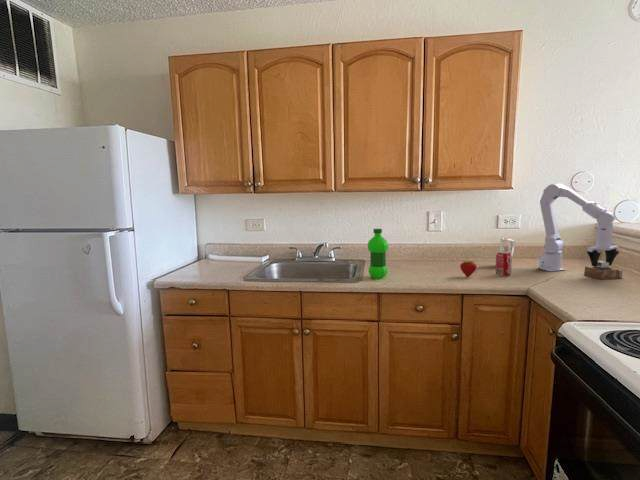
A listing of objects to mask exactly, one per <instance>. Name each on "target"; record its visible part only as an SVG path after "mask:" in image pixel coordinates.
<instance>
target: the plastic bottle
mask: <svg viewBox="0 0 640 480" xmlns="http://www.w3.org/2000/svg"><path fill="white" fill-rule="evenodd" d="M382 229H383V228H373V234H374V236H373V237H371V238H370V239H369V240H368V242H367V249H368V251H369V252H370V253H369V254H370V265H369V267H368V274H369V275H370V277H372V278H373V279H374V280H380V279H384V278H385V277H386V276H387V274H388V267H387V265H386V263H387V262H386V259H387V257H386V256H387V255H386V253H387V251H388V249H389V243H388V241H387V240H386V238H384V237H383V236H382V233H383V230H382Z"/></svg>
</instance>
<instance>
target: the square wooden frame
mask: <svg viewBox="0 0 640 480" xmlns="http://www.w3.org/2000/svg"><path fill="white" fill-rule="evenodd" d="M593 267H594V266H592V265H588V266H587V265H585V266H584V273H583V274H584V276H589V277H592V278H596V279H598V280H604V279H605V280H606V279H619V278H618V273H619V270H620V269H618V268H614V267H612V266H611V267H610V266H609V269H606V270H600V269H597V268H593Z"/></svg>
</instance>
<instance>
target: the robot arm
mask: <svg viewBox="0 0 640 480" xmlns="http://www.w3.org/2000/svg"><path fill="white" fill-rule="evenodd" d="M558 198H567V199H569V200H570V201H572V202H574V203H576V204H577V205H579V207H581V209H582V211H583V212H584V213H585V214H587V215H588V216H590V217H592V219H594V220H595V219H596V222H597V228H596V229H597V230H596V240H595V245H593V246H588V247H587V251H586V253H587V255H588V256H589V258H590V259H589V260H590V263H591V266H595V267H596V266H597V264H598V261H599V258H600V256H601V254H602V253H601V252H604V254H605V262H609V267H610V266H611V267H612V265H613V262H614V260H615V258H616V257H617V255H618V254H619V253H620V251H619V249H620V246H619V245H616V244H615V245H612V240H613V231H614V228H613V227H614V223H613V222H614V221H615V220H616V215H615V214H614V213H613V212H612V211H608V209H607V208H604V207H602V206H601V205H599V202H597V201H593V200H591V201H589V200H588V201H587V200H586V199H585V198H584V197H582V196H581V195H579V194H578V193H577V192H575V191H574V190H572V189H571V188H570V187H568V186H566V185H564V184H562V183H555V184H553V183H552V184H548V185H547V186H546V187H545V188H544V189H543V192H542V195H541V197H540V200H539V204H540V205H539V206H540V210H541V215H542V221H543V226H544V229H545V238H544V241H545V242H544V246H543V247H544V248H543V249H544V250H545V252H542V253H541V254H540V255H539V261H538V266H537V269H541V270H543V271H547V272H557V271H566V268H562V259H563V251H562V250H563V249H564V247H565V243H564V241H563V240H562V237H561V235H560V234H559V232H558V227H557V221H556V217H555V212H554V206H553V203H554V202H555V201H556V200H557V199H558Z"/></svg>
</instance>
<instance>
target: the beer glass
mask: <svg viewBox="0 0 640 480" xmlns="http://www.w3.org/2000/svg"><path fill="white" fill-rule="evenodd" d="M499 251H509V252H511V255H512V257H513V255H514V251H515V239H514V238H510V237H509V238H500V240H499Z"/></svg>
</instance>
